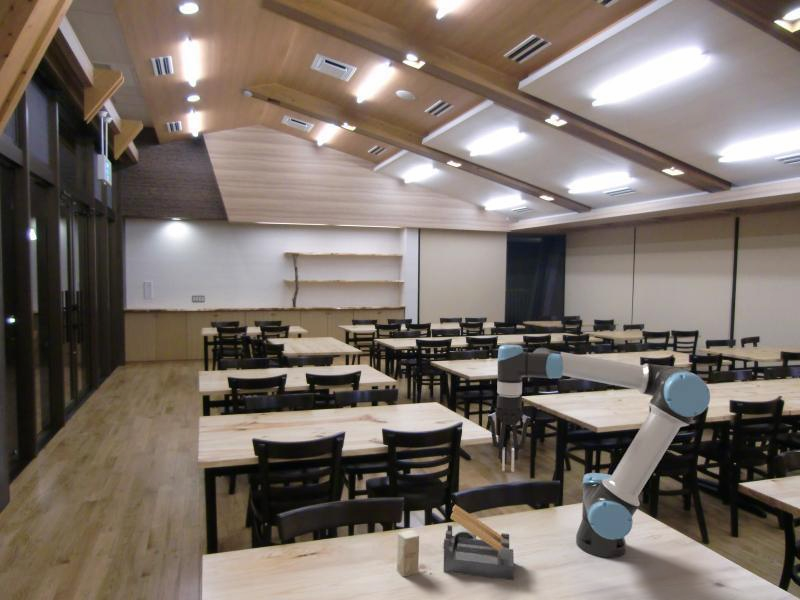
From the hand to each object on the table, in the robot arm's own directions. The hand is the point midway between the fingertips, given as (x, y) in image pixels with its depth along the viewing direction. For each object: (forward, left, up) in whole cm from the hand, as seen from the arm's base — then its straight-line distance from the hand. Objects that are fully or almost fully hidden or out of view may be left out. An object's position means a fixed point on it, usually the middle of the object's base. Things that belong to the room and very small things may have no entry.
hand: (508, 469), depth 164 cm
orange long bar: (+8, +7, -16) cm, 19 cm away
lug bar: (+17, +10, -22) cm, 30 cm away
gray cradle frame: (+8, +10, -26) cm, 29 cm away
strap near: (+8, +13, -16) cm, 22 cm away
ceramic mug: (+14, +1, -27) cm, 30 cm away
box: (+28, +17, -27) cm, 42 cm away
